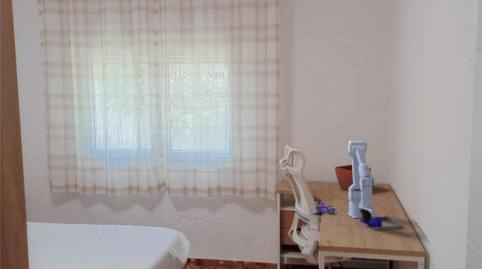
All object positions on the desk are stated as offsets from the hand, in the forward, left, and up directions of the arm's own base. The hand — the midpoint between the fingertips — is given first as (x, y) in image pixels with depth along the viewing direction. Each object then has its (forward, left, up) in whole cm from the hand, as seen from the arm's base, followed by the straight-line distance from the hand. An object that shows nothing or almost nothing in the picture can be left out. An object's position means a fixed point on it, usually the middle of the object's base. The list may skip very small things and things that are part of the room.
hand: (366, 223), depth 220 cm
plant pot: (-79, +29, -2) cm, 84 cm away
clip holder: (0, +8, -1) cm, 8 cm away
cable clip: (0, +3, -2) cm, 4 cm away
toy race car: (-29, -13, -2) cm, 32 cm away
